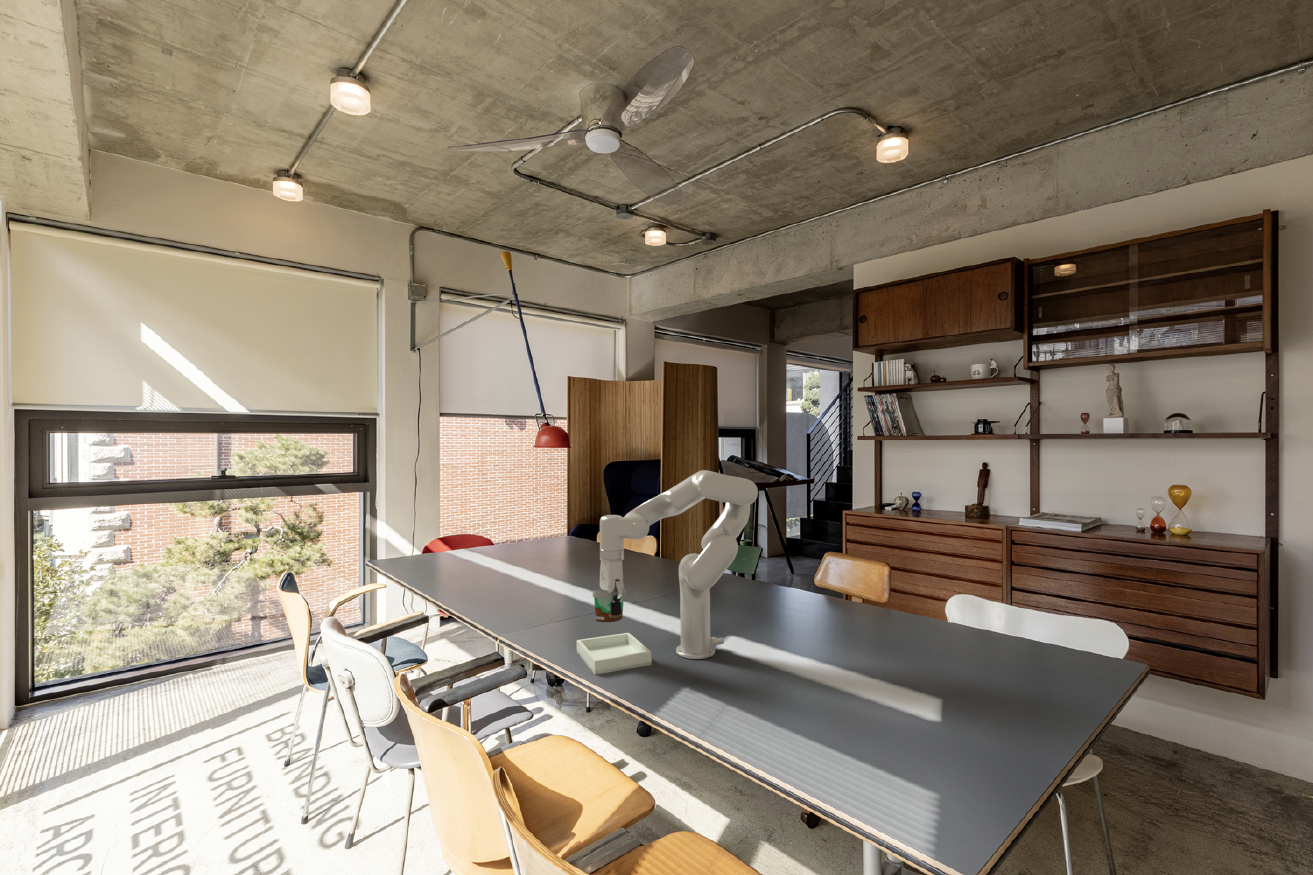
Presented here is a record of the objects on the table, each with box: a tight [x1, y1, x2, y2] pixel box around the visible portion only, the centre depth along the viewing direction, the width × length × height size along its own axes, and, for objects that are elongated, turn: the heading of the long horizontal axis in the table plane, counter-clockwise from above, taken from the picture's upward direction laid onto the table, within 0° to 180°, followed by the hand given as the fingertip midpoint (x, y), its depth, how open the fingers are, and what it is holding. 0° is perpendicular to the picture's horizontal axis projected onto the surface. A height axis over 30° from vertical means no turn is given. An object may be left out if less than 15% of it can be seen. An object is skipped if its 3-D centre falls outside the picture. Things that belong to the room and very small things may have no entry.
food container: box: [592, 583, 627, 623], centre depth 189 cm, size 12×6×10 cm, turn 138°
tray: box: [576, 632, 653, 676], centre depth 190 cm, size 18×20×4 cm
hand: (612, 611), depth 190 cm, fingers closed on food container, 6 cm apart
